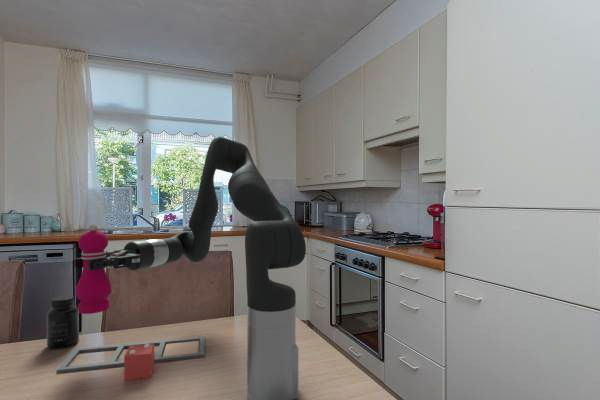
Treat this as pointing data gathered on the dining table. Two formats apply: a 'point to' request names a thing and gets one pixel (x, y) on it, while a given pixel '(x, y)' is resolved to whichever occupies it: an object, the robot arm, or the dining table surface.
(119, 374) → the dining table surface
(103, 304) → the pepper mill
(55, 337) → the supplement bottle
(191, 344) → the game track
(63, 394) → the dining table surface
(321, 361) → the dining table surface
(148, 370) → the die
